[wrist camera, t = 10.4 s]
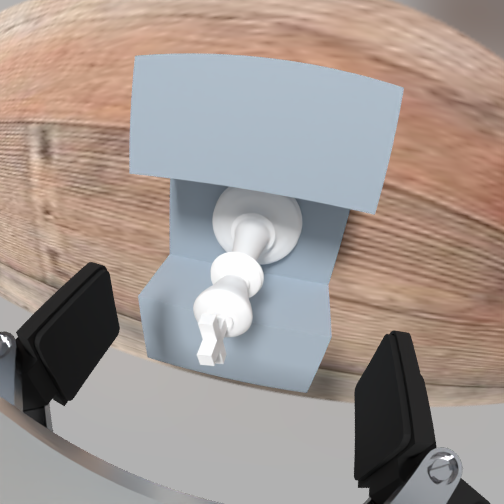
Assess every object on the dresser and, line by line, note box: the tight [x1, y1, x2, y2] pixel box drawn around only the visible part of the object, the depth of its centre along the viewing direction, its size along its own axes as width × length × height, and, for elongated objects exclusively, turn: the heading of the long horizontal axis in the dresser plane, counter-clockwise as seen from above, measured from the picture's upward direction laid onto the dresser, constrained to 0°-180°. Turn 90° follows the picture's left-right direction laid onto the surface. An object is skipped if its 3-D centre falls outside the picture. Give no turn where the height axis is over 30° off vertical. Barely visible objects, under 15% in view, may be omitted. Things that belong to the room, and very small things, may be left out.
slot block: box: [130, 54, 404, 393], centre depth 16 cm, size 10×17×6 cm, turn 173°
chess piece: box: [193, 187, 302, 366], centre depth 12 cm, size 5×5×10 cm
